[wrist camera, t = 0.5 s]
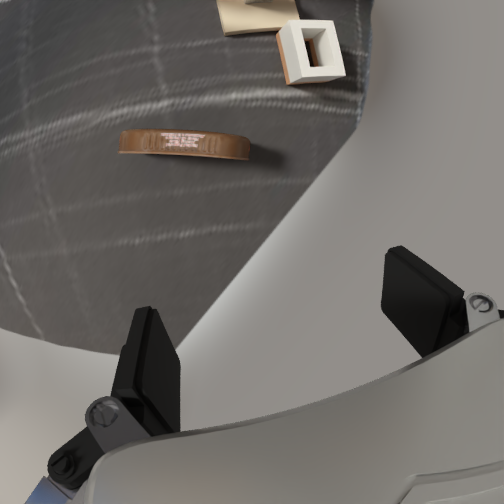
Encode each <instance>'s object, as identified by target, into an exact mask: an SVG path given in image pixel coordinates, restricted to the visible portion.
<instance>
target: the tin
mask: <svg viewBox="0 0 504 504" xmlns="http://www.w3.org/2000/svg"><path fill="white" fill-rule="evenodd" d="M249 150H250V140H249V139H248V138H246V137H243V136H238V135H232V134H225V133H217V132H206V131H193V130H176V129H132V130H125V131H123V132H122V133H121V135H120V144H119V151H118V153H140V154H141V153H143V154H172V155H190V156H205V157H216V158H228V159H239V160H249Z"/></svg>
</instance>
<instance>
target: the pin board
mask: <svg viewBox="0 0 504 504" xmlns="http://www.w3.org/2000/svg"><path fill="white" fill-rule="evenodd" d="M216 1H217V6H218V10H219V14H220V19H221V23H222V28H223V32H224V36H228V35H236V34H244V33H253V32H264V31H279V30H280V29H281V28H282V27H283V26H284V25H285V24H286V23H287V21H288V20H300V18H299V15H298V11H297V8H296V4H295V1H294V0H273V1H272V2H268V3H251V4H244V0H216Z"/></svg>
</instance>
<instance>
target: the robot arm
mask: <svg viewBox="0 0 504 504" xmlns="http://www.w3.org/2000/svg"><path fill="white" fill-rule="evenodd" d="M463 295H464V291H463V290H462V289H461V288H459V287H458V286H457V285H456V284H454V283H453V282H451V281H450V280H449V279H448V278H446V277H445V276H444V275H442V274H441V273H440V272H438V271H437V270H436V269H434V268H433V267H432V266H430V265H429V264H427V263H426V262H425V261H423V260H422V259H420V258H419V257H418V256H416V255H415V254H413V253H412V252H410V251H409V250H408V249H406V248H405V247H403V246H397V247H393V248H390V249H389V250H388V252H387V253H386V255H385V264H384V278H383V290H382V300H381V309H382V311H383V313H384V314H385V315H386V316H387V317H388V318H389V320H390V321H391V322H392V323H393V324H394V325H395V326H396V328H397V329H398V330H399V331H400V332H401V333H402V334H403V336H404V337H405V338H406V339H407V340H408V341H409V343H410V344H411V345H412V346H413V347H414V349H415V350H416V351H417V352H418V353H419V354H420V356H421V357H422V359H420V360H418V361H416V362H414V363H412V364H410V365H408V366H405V367H403V368H401V369H399V370H397V371H395V372H392V373H390V374H388V375H385V376H383V377H381V378H379V379H376V380H374V381H372V382H369V383H366V384H364V385H361V386H359V387H356V388H354V389H351V390H349V391H346V392H343V393H340V394H337V395H335V396H332V397H329V398H326V399H323V400H320V401H317V402H313V403H310V404H307V405H304V406H300V407H297V408H294V409H290V410H287V411H283V412H279V413H275V414H271V415H267V416H263V417H258V418H254V419H250V420H245V421H240V422H235V423H230V424H225V425H220V426H214V427H208V428H203V429H196V430H189V431H182V432H180V368H181V367H180V360H179V358H178V355H177V353H176V351H175V349H174V347H173V345H172V343H171V340H170V338H169V336H168V334H167V332H166V329H165V327H164V325H163V322H162V320H161V318H160V315H159V313H158V311H157V309H152V308H151V306H147V307H142V308H137V309H136V310H135V313H134V316H133V320H132V324H131V327H130V331H129V334H128V338H127V342H126V344H125V345H124V346H123V347H122V350H121V354H120V358H119V362H118V366H117V370H116V374H115V378H114V383H113V387H112V391H111V396H110V397H109V396H105V397H102V398H99V399H97V400H95V401H94V402H93V403H92V404H91V405H90V406H89V407H88V409H87V411H86V414H85V421H86V424H87V427H86V428H85V429H83V430H82V431H81V432H79V433H78V434H77V435H76V436H74V437H73V438H72V439H71V440H69V441H68V442H67V443H66V444H64V445H63V446H62V447H61V448H59V449H58V450H57V451H55V452H54V453H53V454H52V455H51V457H50V459H49V461H48V465H47V466H48V473H49V476H48V477H47V478H46V477H45V476H43V478H42V479H41V481H40V482H39V483H38V485H37V487H36V488H35V489H34V491H33V492H32V493H31V495H30V496H29V498H28V499H27V501H26V502H25V504H504V310H498V309H497V305H496V303H495V301H494V300H493V299H492V298H491V297H490V296H488V295H486V294H483V293H472V294H470V295H468V296H467V298H466V300H465V299H464V298H463Z"/></svg>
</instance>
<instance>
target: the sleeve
mask: <svg viewBox="0 0 504 504" xmlns="http://www.w3.org/2000/svg"><path fill="white" fill-rule="evenodd" d="M276 38H277V42H278V47H279V51H280V55H281V60H282V64H283V69H284V74H285V78H286V83H287V85H292V84H304V83H319V82H327V81H331V80H334V79H337V78H340V77H343V76H346V74H345V69H344V64H343V60H342V55H341V51H340V47H339V43H338V39H337V35H336V31H335V27H334V23H333V21H326V20H288V21H287V23H286V24H285V25H284V26H283V27H282V28H281V29H280V31H279V32H278V33H277V34H276ZM304 41H308V42H309V46H310V50H311V54H312V59H313V63H314V67H310V64H309V60H308V55H307V51H306V47H305V43H304Z"/></svg>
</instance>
